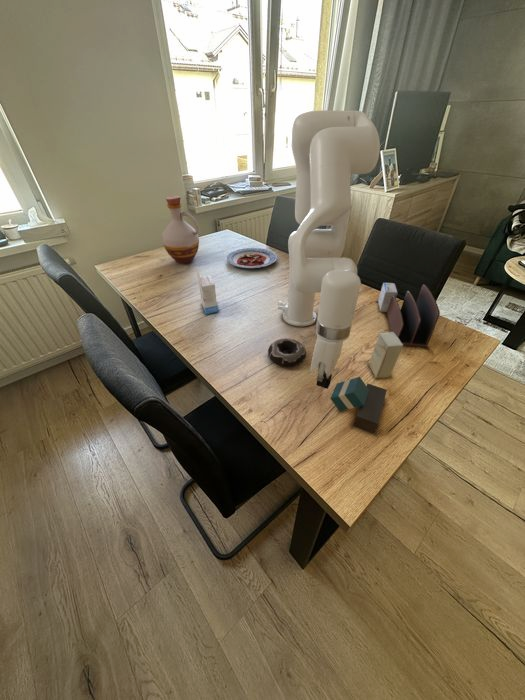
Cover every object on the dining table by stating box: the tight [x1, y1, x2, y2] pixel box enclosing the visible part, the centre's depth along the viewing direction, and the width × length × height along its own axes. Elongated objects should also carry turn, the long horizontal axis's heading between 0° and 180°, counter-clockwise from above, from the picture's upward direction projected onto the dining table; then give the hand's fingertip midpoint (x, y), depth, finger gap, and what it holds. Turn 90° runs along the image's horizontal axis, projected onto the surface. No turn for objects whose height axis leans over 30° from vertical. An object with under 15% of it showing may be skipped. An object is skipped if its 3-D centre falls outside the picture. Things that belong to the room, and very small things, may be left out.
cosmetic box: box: [368, 331, 404, 379], centre depth 81 cm, size 6×4×12 cm
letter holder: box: [386, 284, 441, 348], centre depth 97 cm, size 10×20×14 cm, turn 169°
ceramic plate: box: [226, 247, 278, 269], centre depth 148 cm, size 26×26×3 cm
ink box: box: [196, 270, 219, 315], centre depth 108 cm, size 8×5×15 cm, turn 20°
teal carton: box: [329, 376, 369, 412], centre depth 73 cm, size 8×6×8 cm
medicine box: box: [377, 282, 398, 313], centre depth 110 cm, size 8×4×9 cm, turn 168°
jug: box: [161, 195, 200, 264], centre depth 140 cm, size 20×18×30 cm
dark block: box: [352, 382, 388, 435], centre depth 72 cm, size 5×12×4 cm, turn 152°
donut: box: [267, 337, 307, 368], centre depth 89 cm, size 12×12×4 cm
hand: (323, 385), depth 75 cm, fingers closed
